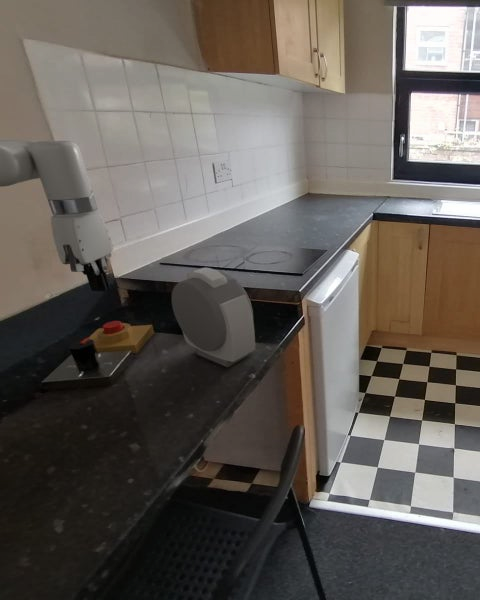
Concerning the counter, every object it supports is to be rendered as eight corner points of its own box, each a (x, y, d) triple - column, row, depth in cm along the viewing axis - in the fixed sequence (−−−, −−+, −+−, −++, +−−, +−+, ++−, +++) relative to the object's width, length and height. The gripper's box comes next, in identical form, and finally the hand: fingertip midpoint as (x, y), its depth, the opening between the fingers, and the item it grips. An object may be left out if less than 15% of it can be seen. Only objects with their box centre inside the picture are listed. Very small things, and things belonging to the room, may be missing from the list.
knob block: (78, 357, 89) (72, 342, 88) (101, 336, 98) (96, 321, 97) (137, 353, 91) (132, 337, 89) (154, 332, 100) (150, 318, 98)
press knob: (101, 335, 91) (99, 328, 91) (109, 327, 94) (107, 321, 94) (119, 334, 92) (117, 327, 91) (126, 326, 95) (124, 320, 94)
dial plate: (44, 390, 78) (40, 381, 78) (73, 362, 87) (70, 354, 86) (112, 384, 80) (109, 375, 79) (133, 358, 89) (131, 349, 88)
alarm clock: (264, 357, 90) (251, 272, 81) (232, 376, 83) (214, 285, 75) (212, 337, 98) (195, 258, 90) (179, 353, 91) (158, 268, 83)
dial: (92, 370, 81) (84, 347, 79) (72, 370, 81) (63, 347, 79) (105, 359, 85) (97, 337, 83) (86, 359, 85) (78, 337, 83)
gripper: (82, 199, 88) (107, 277, 96) (24, 214, 75) (58, 303, 82) (116, 199, 88) (138, 277, 96) (64, 214, 75) (94, 303, 82)
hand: (101, 289), depth 89 cm, fingers closed
